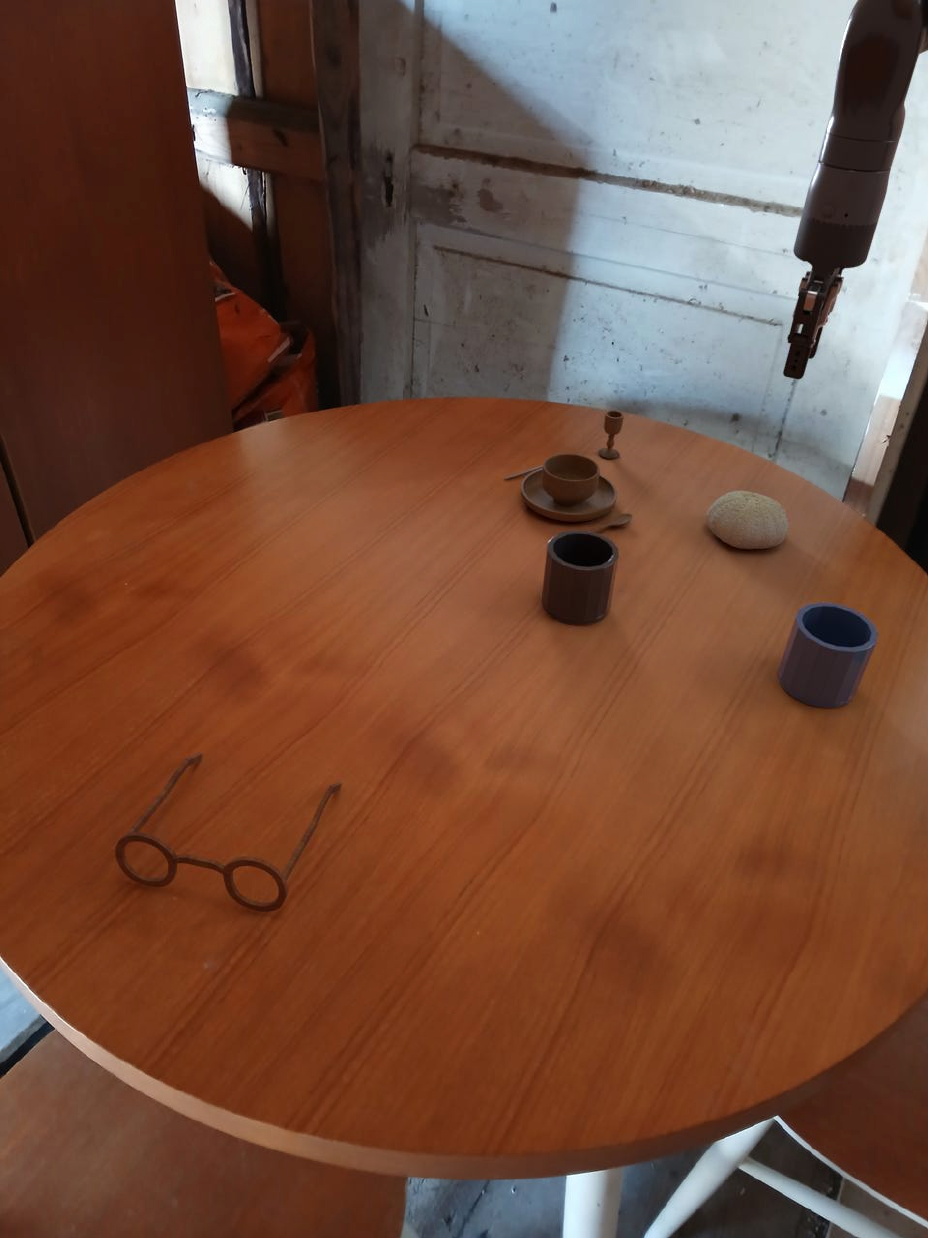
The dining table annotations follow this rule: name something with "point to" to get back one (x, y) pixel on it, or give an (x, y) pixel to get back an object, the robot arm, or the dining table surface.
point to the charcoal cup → (579, 577)
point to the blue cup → (826, 654)
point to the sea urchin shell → (748, 520)
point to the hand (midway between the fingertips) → (798, 365)
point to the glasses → (227, 870)
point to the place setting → (575, 484)
